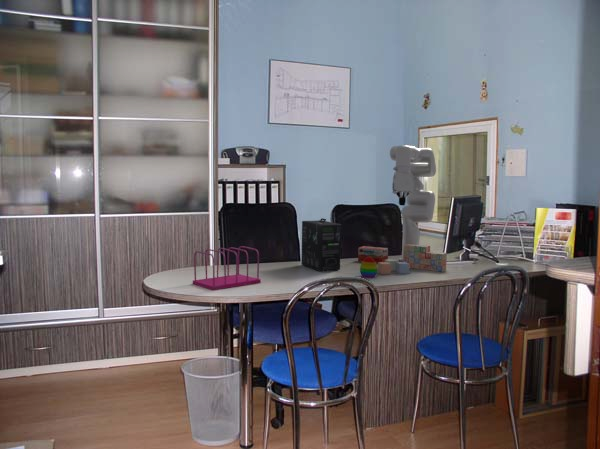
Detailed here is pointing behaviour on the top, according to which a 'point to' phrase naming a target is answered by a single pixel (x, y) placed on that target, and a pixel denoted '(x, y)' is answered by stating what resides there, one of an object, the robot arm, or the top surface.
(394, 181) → the robot arm
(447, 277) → the top surface
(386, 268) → the terracotta cube
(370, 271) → the decorative egg
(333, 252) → the headset box
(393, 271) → the charcoal mat
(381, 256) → the medicine box
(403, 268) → the slate-blue cube
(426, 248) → the stack of blocks
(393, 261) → the sage cube
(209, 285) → the file sorter
